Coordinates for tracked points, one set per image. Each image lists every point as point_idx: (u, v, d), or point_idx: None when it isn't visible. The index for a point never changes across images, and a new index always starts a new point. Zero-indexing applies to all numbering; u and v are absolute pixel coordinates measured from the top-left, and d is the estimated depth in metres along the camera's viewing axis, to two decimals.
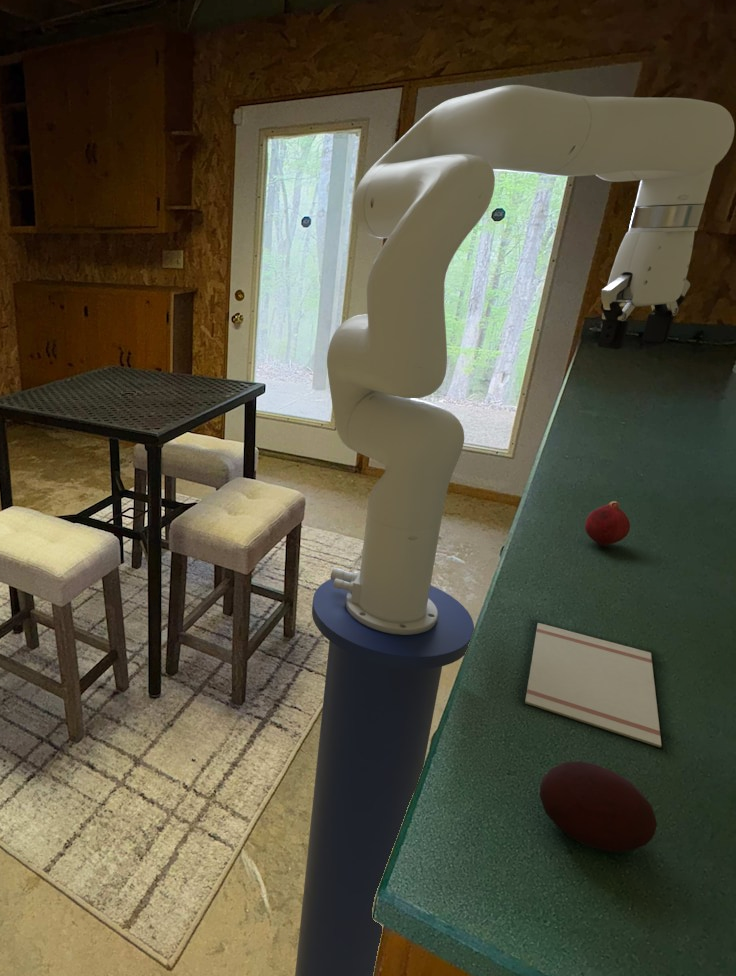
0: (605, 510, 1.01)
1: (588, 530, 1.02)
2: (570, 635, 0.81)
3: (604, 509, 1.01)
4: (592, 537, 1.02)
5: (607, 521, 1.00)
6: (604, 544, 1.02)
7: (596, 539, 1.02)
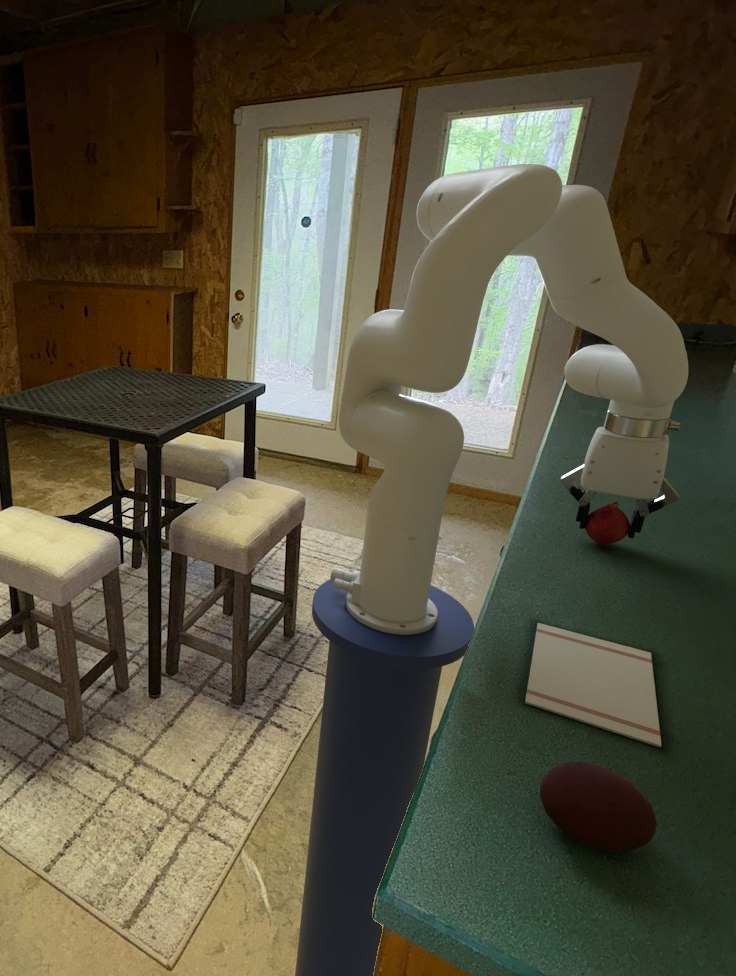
0: (604, 510, 1.01)
1: (588, 530, 1.02)
2: (570, 635, 0.81)
3: (604, 509, 1.01)
4: (592, 537, 1.02)
5: (606, 521, 1.00)
6: (604, 544, 1.02)
7: (596, 539, 1.02)
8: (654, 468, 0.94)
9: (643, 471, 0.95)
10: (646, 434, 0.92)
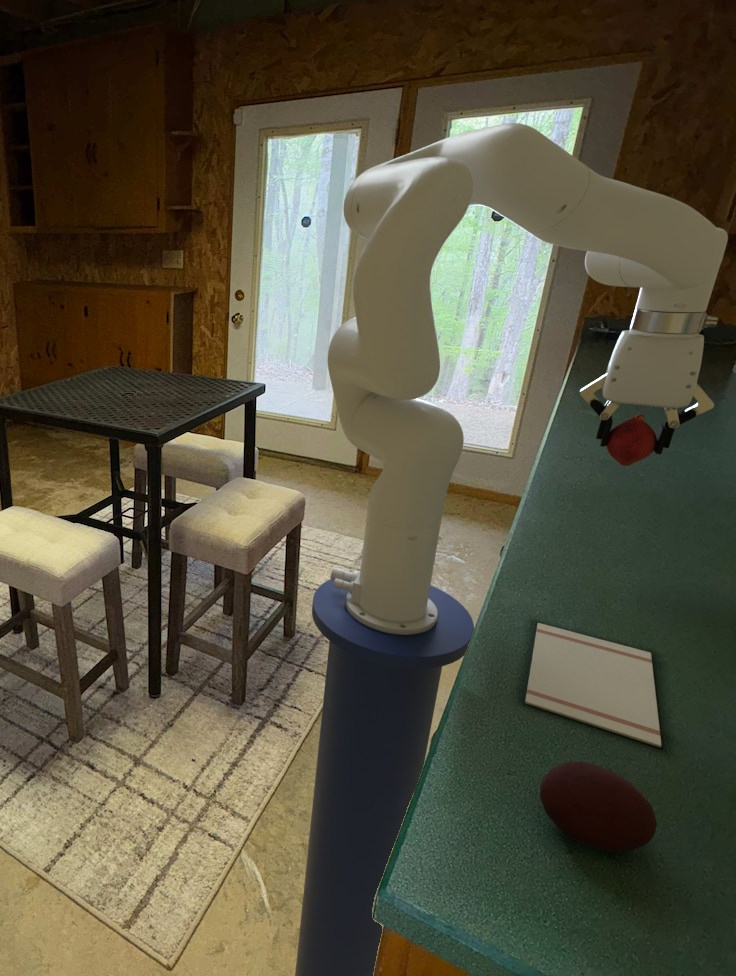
0: (629, 423, 0.91)
1: (610, 447, 0.92)
2: (570, 635, 0.81)
3: (628, 422, 0.91)
4: (614, 455, 0.92)
5: (632, 435, 0.90)
6: (628, 463, 0.92)
7: (619, 457, 0.92)
8: (687, 370, 0.84)
9: (675, 374, 0.85)
10: (680, 329, 0.82)
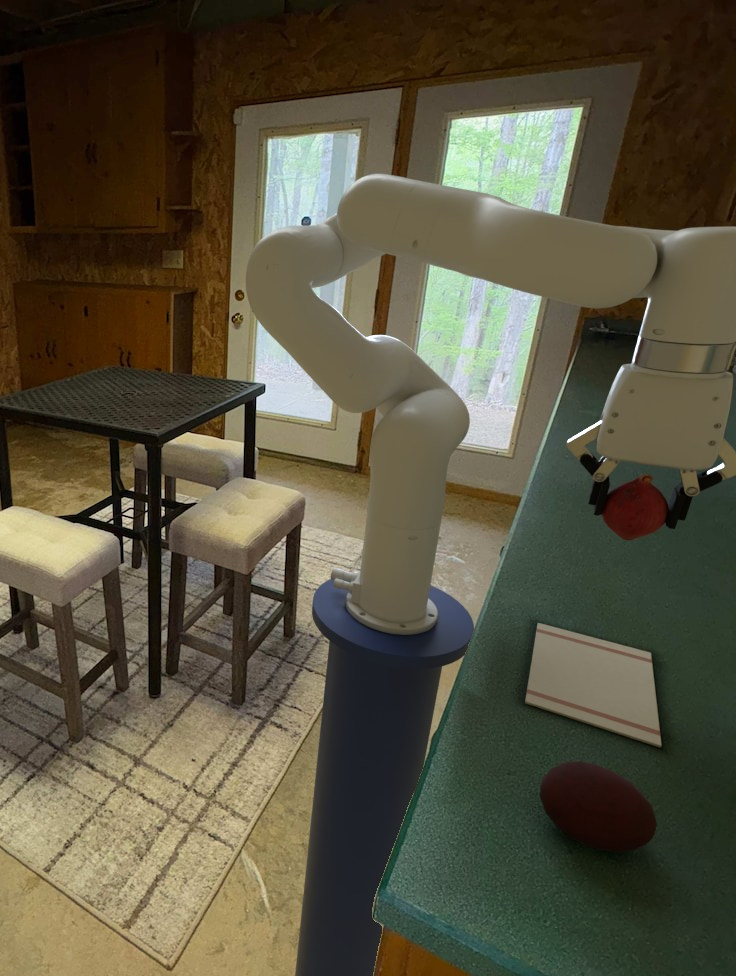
0: (632, 487, 0.68)
1: (607, 517, 0.70)
2: (570, 635, 0.81)
3: (630, 485, 0.68)
4: (613, 527, 0.70)
5: (635, 503, 0.67)
6: (630, 537, 0.70)
7: (619, 530, 0.69)
8: (711, 421, 0.62)
9: (693, 426, 0.63)
10: (701, 368, 0.60)
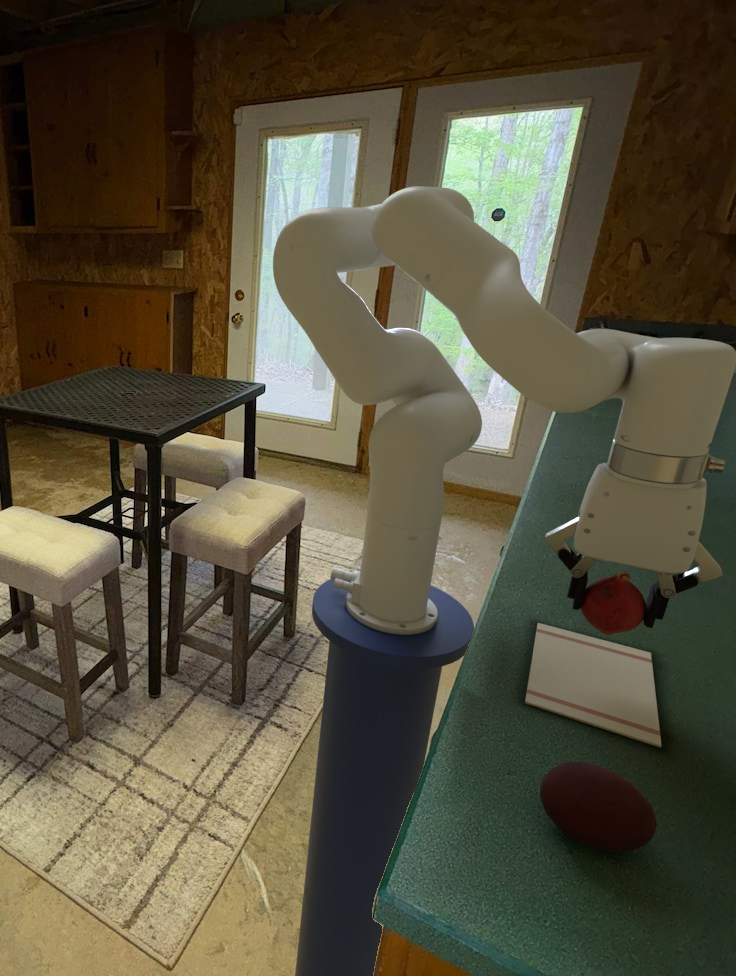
0: (609, 585, 0.68)
1: (585, 612, 0.70)
2: (570, 635, 0.81)
3: (608, 582, 0.69)
4: (591, 622, 0.70)
5: (612, 602, 0.68)
6: (609, 633, 0.70)
7: (597, 626, 0.70)
8: (684, 529, 0.62)
9: (667, 532, 0.63)
10: (673, 478, 0.60)
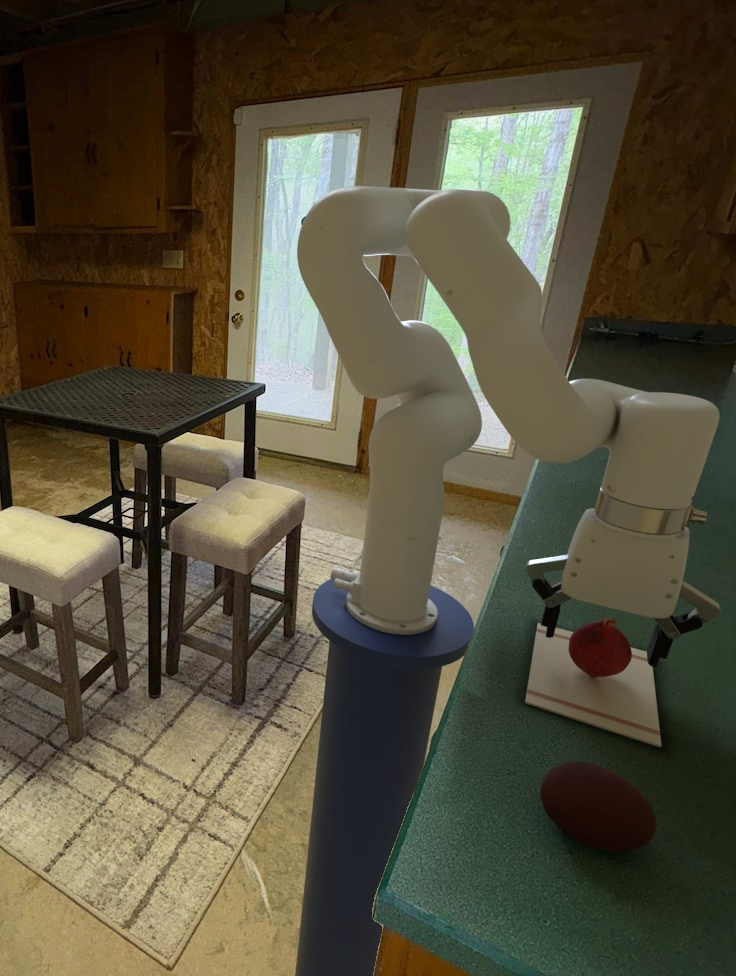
0: (596, 630, 0.71)
1: (573, 656, 0.72)
2: (570, 635, 0.81)
3: (595, 628, 0.71)
4: (578, 666, 0.72)
5: (599, 648, 0.70)
6: (595, 676, 0.72)
7: (584, 670, 0.72)
8: (667, 577, 0.64)
9: (651, 580, 0.65)
10: (656, 529, 0.62)
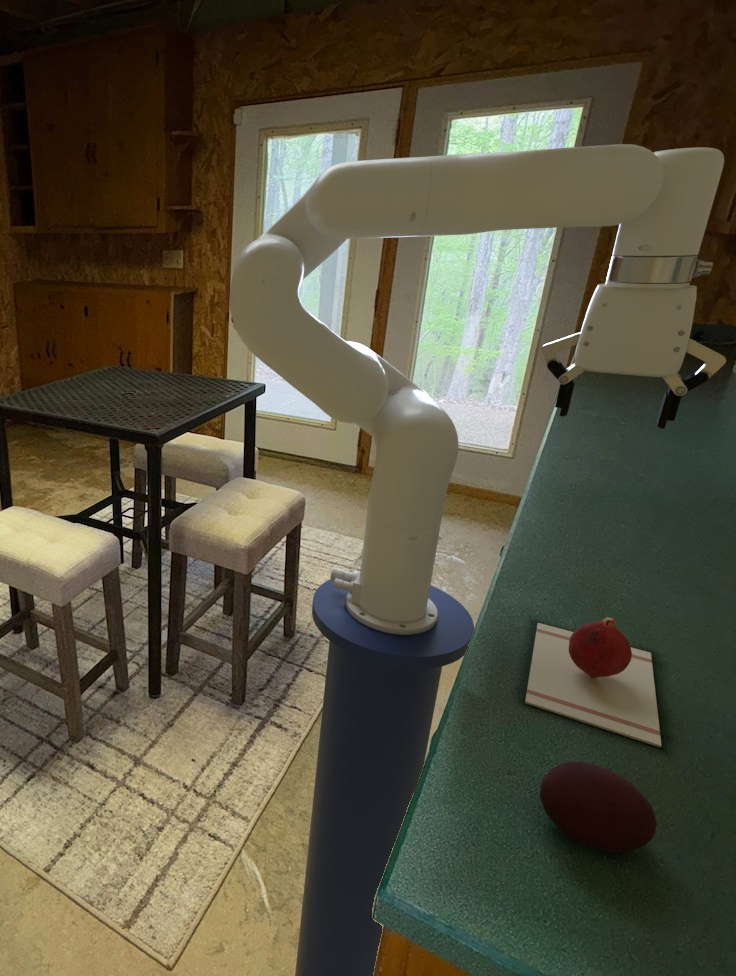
0: (596, 630, 0.71)
1: (573, 656, 0.72)
2: (570, 635, 0.81)
3: (595, 628, 0.71)
4: (578, 666, 0.72)
5: (599, 648, 0.70)
6: (595, 676, 0.72)
7: (584, 670, 0.72)
8: (675, 329, 0.68)
9: (659, 335, 0.69)
10: (664, 278, 0.67)
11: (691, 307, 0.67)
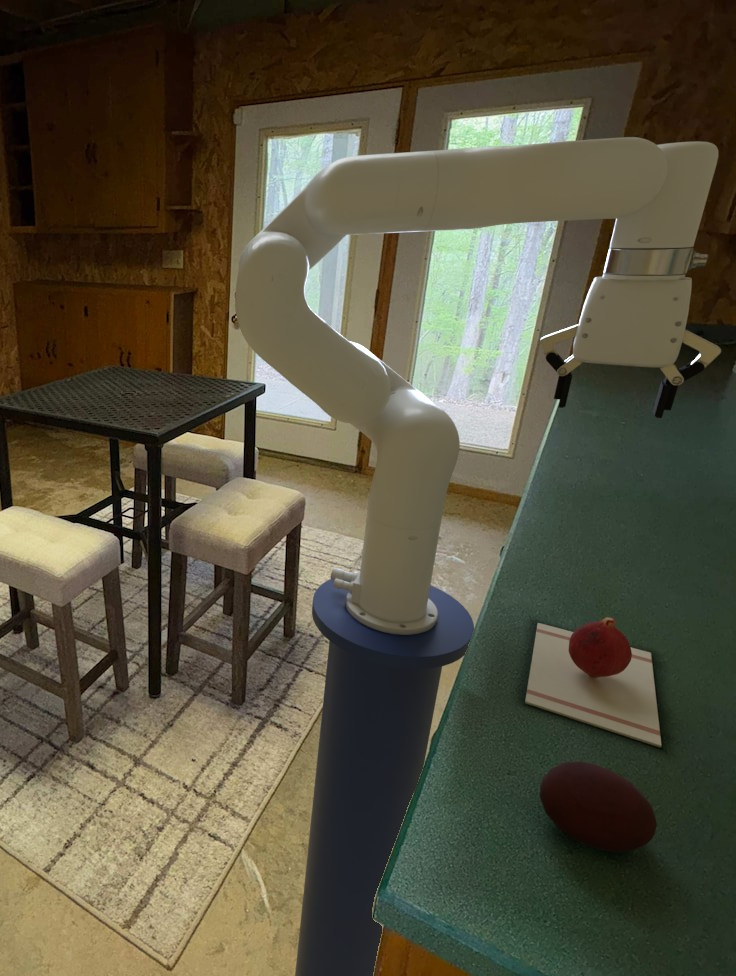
0: (596, 630, 0.71)
1: (573, 656, 0.72)
2: (570, 635, 0.81)
3: (595, 628, 0.71)
4: (578, 666, 0.72)
5: (599, 648, 0.70)
6: (595, 676, 0.72)
7: (584, 670, 0.72)
8: (672, 320, 0.70)
9: (657, 326, 0.70)
10: (661, 270, 0.68)
11: (687, 298, 0.69)
